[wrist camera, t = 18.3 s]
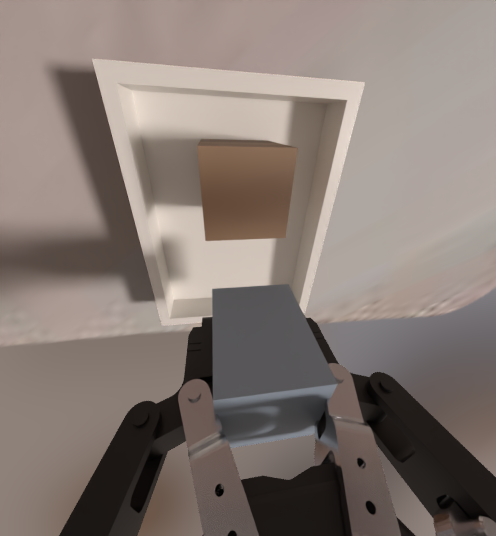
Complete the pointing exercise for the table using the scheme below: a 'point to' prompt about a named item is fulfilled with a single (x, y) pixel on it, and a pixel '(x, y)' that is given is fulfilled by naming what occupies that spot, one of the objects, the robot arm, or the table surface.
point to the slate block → (266, 366)
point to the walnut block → (245, 188)
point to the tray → (188, 178)
